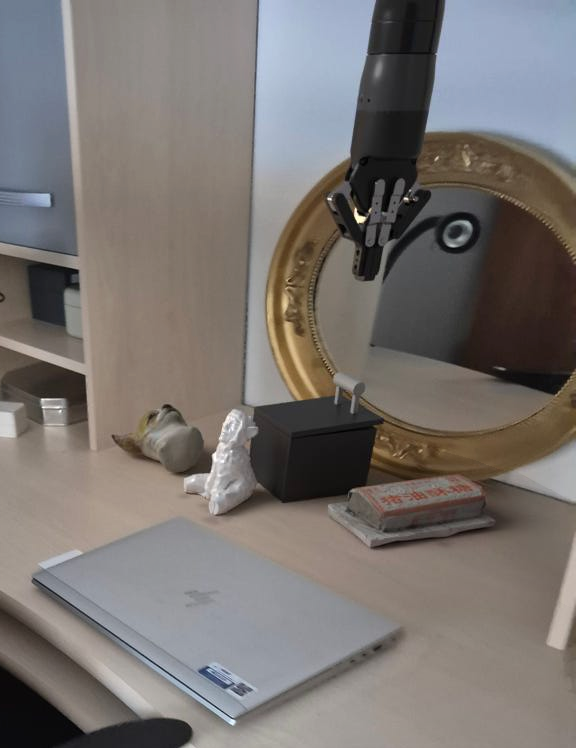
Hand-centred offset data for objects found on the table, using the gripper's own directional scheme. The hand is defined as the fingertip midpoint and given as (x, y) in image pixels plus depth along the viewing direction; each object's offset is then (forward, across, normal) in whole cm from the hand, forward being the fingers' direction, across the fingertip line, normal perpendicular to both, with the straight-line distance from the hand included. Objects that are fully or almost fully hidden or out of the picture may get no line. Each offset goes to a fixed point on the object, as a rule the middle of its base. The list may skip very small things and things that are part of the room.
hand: (364, 279), depth 99 cm
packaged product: (+27, +4, -12) cm, 30 cm away
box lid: (+18, -1, +4) cm, 18 cm away
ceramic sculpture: (+27, -18, +18) cm, 37 cm away
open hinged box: (+27, -2, +4) cm, 27 cm away
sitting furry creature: (+27, -14, +2) cm, 31 cm away
